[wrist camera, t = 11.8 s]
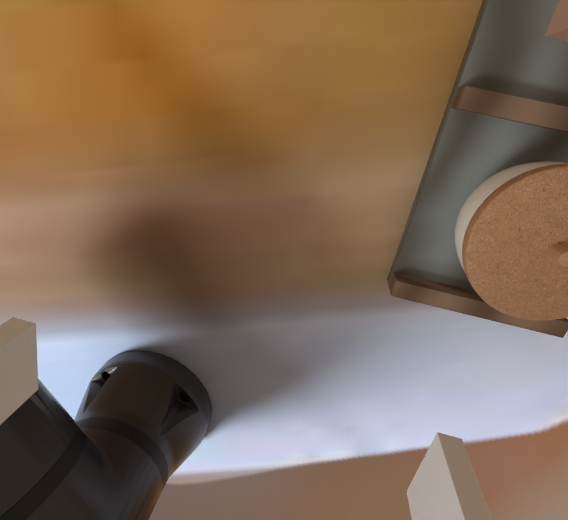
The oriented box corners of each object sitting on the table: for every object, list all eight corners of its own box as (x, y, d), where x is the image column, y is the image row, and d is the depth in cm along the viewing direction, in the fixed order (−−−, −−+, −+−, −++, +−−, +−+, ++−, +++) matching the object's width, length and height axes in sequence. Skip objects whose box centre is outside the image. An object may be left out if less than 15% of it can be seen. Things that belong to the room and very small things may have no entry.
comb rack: (387, 279, 37) (391, 295, 34) (546, -184, 24) (578, -229, 20) (543, 317, 36) (563, 337, 33) (799, -143, 23) (873, -184, 20)
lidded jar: (534, 291, 34) (600, 355, 25) (418, 254, 34) (443, 304, 25) (609, 175, 29) (719, 203, 21) (476, 133, 30) (529, 144, 21)
